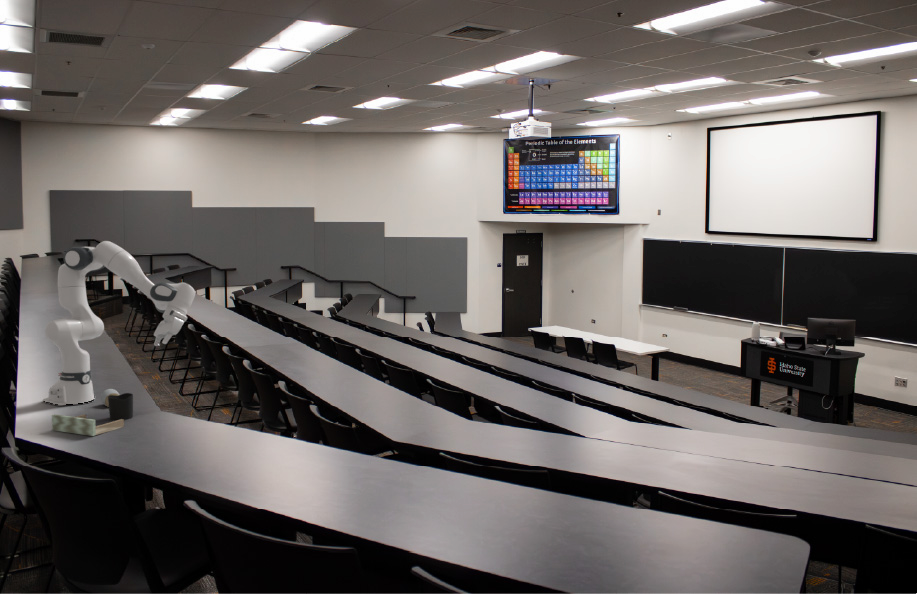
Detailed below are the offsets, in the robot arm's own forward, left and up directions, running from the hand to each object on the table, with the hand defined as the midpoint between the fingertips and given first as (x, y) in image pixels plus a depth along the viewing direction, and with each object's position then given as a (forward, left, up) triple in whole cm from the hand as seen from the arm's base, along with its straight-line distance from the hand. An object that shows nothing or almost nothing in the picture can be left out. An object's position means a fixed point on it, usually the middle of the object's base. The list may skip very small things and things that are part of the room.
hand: (159, 344), depth 301 cm
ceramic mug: (-26, -1, -30) cm, 39 cm away
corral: (-5, -33, -30) cm, 45 cm away
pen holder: (-5, -17, -30) cm, 35 cm away
